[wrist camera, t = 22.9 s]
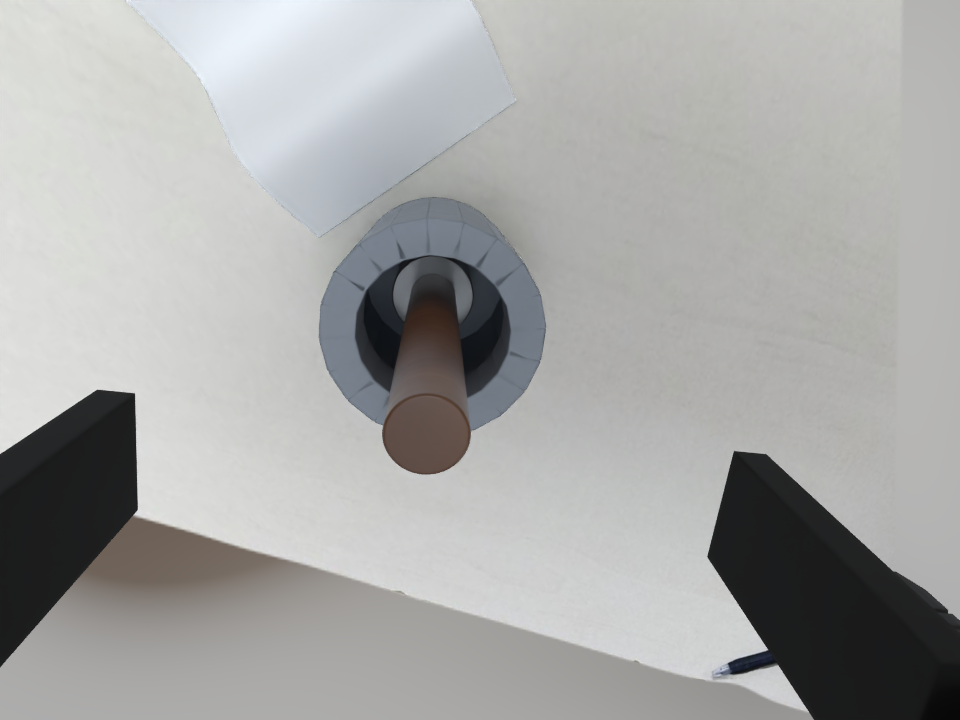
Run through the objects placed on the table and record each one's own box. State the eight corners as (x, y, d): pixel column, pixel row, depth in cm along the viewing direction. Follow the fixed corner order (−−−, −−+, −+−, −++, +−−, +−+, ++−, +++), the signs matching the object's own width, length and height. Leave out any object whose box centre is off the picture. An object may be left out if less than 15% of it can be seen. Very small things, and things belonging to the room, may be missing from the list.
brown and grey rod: (473, 246, 37) (517, 367, 16) (465, 316, 38) (495, 513, 17) (401, 238, 37) (351, 350, 16) (395, 309, 38) (340, 501, 17)
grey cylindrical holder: (521, 207, 38) (561, 233, 25) (500, 356, 40) (528, 446, 28) (364, 188, 37) (326, 205, 24) (353, 340, 39) (313, 426, 27)
